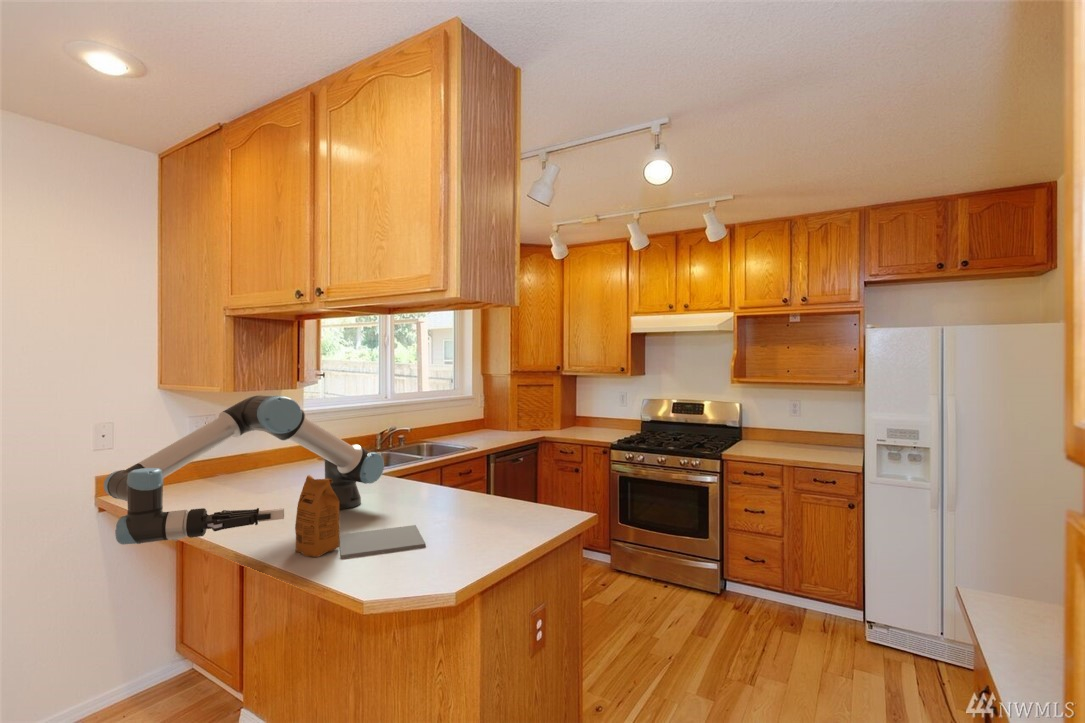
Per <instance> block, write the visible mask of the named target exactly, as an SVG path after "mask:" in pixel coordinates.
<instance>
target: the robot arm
mask: <svg viewBox="0 0 1085 723" xmlns="http://www.w3.org/2000/svg"><path fill="white" fill-rule="evenodd" d="M253 431H258V432H265V433H268V434H270V435H271V436H273V437H274V438H277V439H279V440H281V441H287V440H290V441H291V442H294V443H296V444H297V445H299V446H301V447H302V448H305V449H307V450H309V452H312V453H314V454H316V455H318V456H319V457H320V458H323V460H324V479H331V480H332V481H333V483H331V484H330V485H331V487H332V489H333V491H334V492H335V494H336V496H337V498H338V500H339V510H344V509H343V508H346V509H350V508H349V507H351V508H355V507H357V506H359V505H361V503H362V496H361V494H360V491H359V489H358V488H359V487H358V485H357V483H361V484H366V485H367V484H373V483H375V482H377V481H379V479H380V478H381V477H382V474H383V473H384V469H385V464H384V463H385V461H384V457H383V456H382V455H381V454H380V453H378V452H375V451H369V450H367V449H366V448H364V447H362V446H361V445H359V444H352V445H351V444H350V443H348V442H347V441H344V440H343V439H342V438H340V437H338V436H337V435H335V434H334V433H332V432H330V431H329V430H326V429H325V428H324V427H322V426H320V425H319V424H317V423H315V422H314V421H312V420H310V419H308V417H306V413H305V410H303V409H301V406H300V404H298V402H297V401H296V400H294V399H292V398H290V397H287V396H284V395H253V396H250V397H248V398H245V399H243V400H241V401H239V402H237V403H235V404H234V405H232V406H230V407H228V408H226V409H224V410H223V411H221V412H220V413H219V414H218V417H216V419H213V420H212V421H209V422H208V423H207V424H205V425H203V426H200V428H197V429H195V430H194V431H192V432H191V433H188V434H187V435H186V436H183V437H181V438H179V439H178V440H176V441H174V442H172V443H170V445H167V446H165V447H164V448H162V449H160V450H158V451H157V452H155V453H153V454H151V455H150V456H148V457H146V458H144V459H142V460H141V461H139V462H138V463H135V464H133V465H132V466H130V467H127V468H126V469H120V470H115V471H113V472H112V473H110V474H108V475H107V476H106V477H105V480H104V482H103V489H104V492H105V493H106V494H107V495H109V496H111V497H112V498H114V499H116V500H117V499H118V500H122V501H125V502H127V514H126V515H123V516H121V517H119V518H118V520H117V521H116V526H115V532H114V533H115V534H114V535H115V540H116V542H117V543H118V544H120V545H133V544H134V545H136V544H137V545H141V544H145V543H153V542H154V543H155V542H161V541H170V540H173V541H174V542H177V541H178V540H179V539H180V540H181V539H186V538H187V537H188V538H198V537H204V536H205V534H206V532H207V530H212V531H213V532H217V531H219V532H220V531H222V530H228V529H234V528H238V527H246V526H253V525H255V526H258V525H259V522H260V523H261V522H269V521H278V520H279V521H280V520H284V519H285V508H277V509H275V508H274V509H267V510H266V509H264V510H260V508H259V507H256V508H255V509H238V510H236V509H235V510H234V509H233V510H228V509H227V510H225V509H223V510H221V511H216V512H213V513H212V514H208V511H207V509H206V508H205V507H202V508H201V507H200V508H192V509H190V510H188V509H181V510H179V509H178V510H170V511H163V506H164V505H163V502H164V501H163V495H164V494H163V493H164V489H163V488H164V479H165V478H166V477H168V476H170V475H171V474H173V473H174V472H177V471H178V470H179V469H182V468H183V467H184V466H186V465H188V464H190V463H191V462H194V460H196V459H198V458H200V457H201V456H203V455H205V454H206V453H208V452H209V451H211V450H213V449H215V448H216V447H218V446H220V445H221V444H222V443H225V442H226V441H228V440H229V439H231V438H233V437H234V438H238V437H241V436H242V435H244V434H246V433H249V432H253ZM354 506H355V507H354Z"/></svg>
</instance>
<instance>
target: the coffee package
mask: <svg viewBox="0 0 1085 723" xmlns="http://www.w3.org/2000/svg"><path fill="white" fill-rule="evenodd" d="M331 483H333V481H332V480H331V479H325V478H316V479H315V478H314V477H313V476H312V475H310V474H309V475H307V476H306V478H305V481H304V484H303V486H302V490H301V493H300V496H299V499H298V502H297V507H296V515H295V516H296V517H295V524H294V531H295V532H294V533H295V552H297V553H302V555H303V556H305V557H315V558H318V557H321V556H322V555H324V554H326V553H328V552H331V551H335V550H336V549H338V548H340V529H341V527H340V509H339V500H338V498H337V496H336V494H335V492H334V491H333V489H332V487H331V485H330V484H331Z"/></svg>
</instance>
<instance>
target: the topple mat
mask: <svg viewBox="0 0 1085 723" xmlns="http://www.w3.org/2000/svg"><path fill="white" fill-rule="evenodd" d="M426 544H427V543H426V542H425V540H424V538H423V536H422V535H421V533H420V530H419V529H418V526H417V525H416V524H413V525H407V526H406V525H405V526H397V527H386V528H380V529H373V530H364V531H355V532H354V531H353V532H346V533H339V549H340V550H339V551H340V552H339V553H340V559H349V558H355V557H364V556H371V555H376V554H377V555H378V554H384V553H391V552H399V551H405V550H406V551H407V550H413V549H415V550H416V549H419V548H420V549H421V548H426V546H427V545H426Z"/></svg>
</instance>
